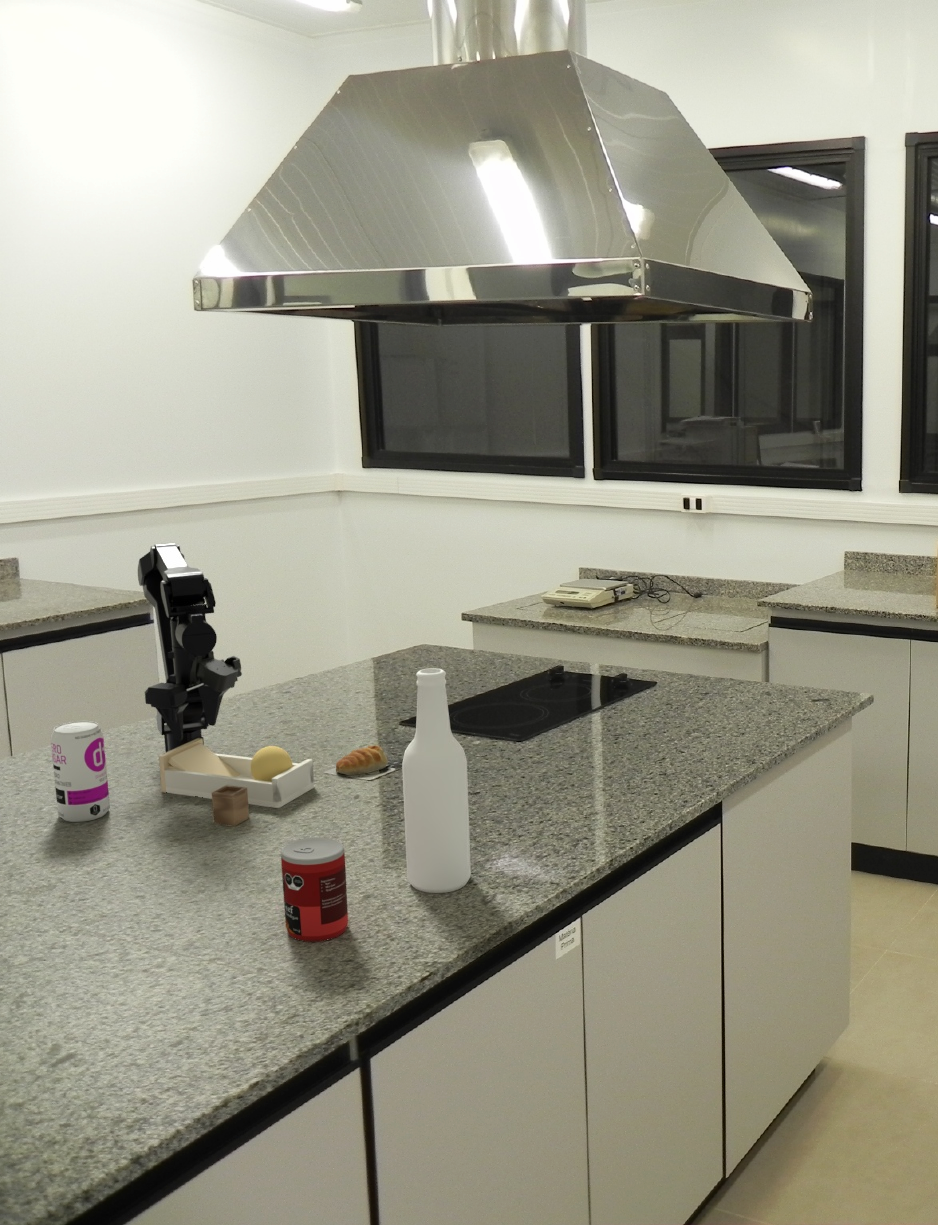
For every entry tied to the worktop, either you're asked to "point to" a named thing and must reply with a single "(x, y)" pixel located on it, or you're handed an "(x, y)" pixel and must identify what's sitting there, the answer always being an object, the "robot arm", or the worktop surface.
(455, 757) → the alcohol
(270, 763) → the ball
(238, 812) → the wooden square cup
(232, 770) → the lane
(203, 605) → the robot arm
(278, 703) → the worktop surface
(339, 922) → the canned food
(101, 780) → the supplement can
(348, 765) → the pastry
